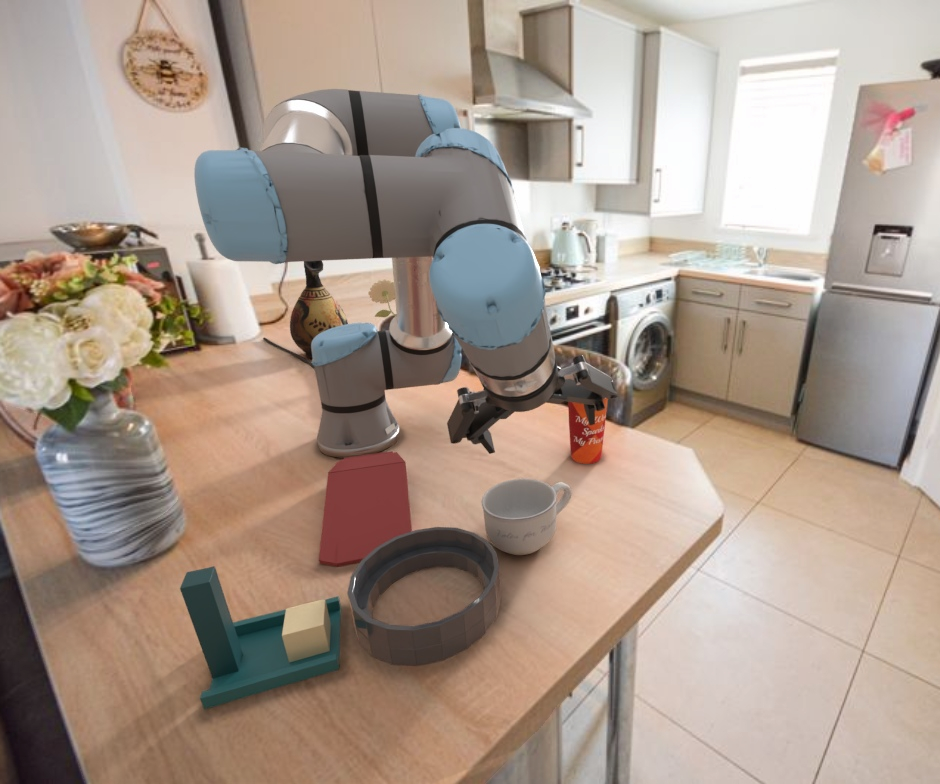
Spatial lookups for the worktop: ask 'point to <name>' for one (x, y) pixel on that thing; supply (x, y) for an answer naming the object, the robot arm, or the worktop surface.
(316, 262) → the ceramic jug
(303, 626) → the cream block
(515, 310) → the robot arm
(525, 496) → the teacup
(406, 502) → the red flat panel
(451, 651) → the dark grey ring
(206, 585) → the teal post tray
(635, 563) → the worktop surface
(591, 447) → the coffee cup
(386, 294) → the flower in vase
